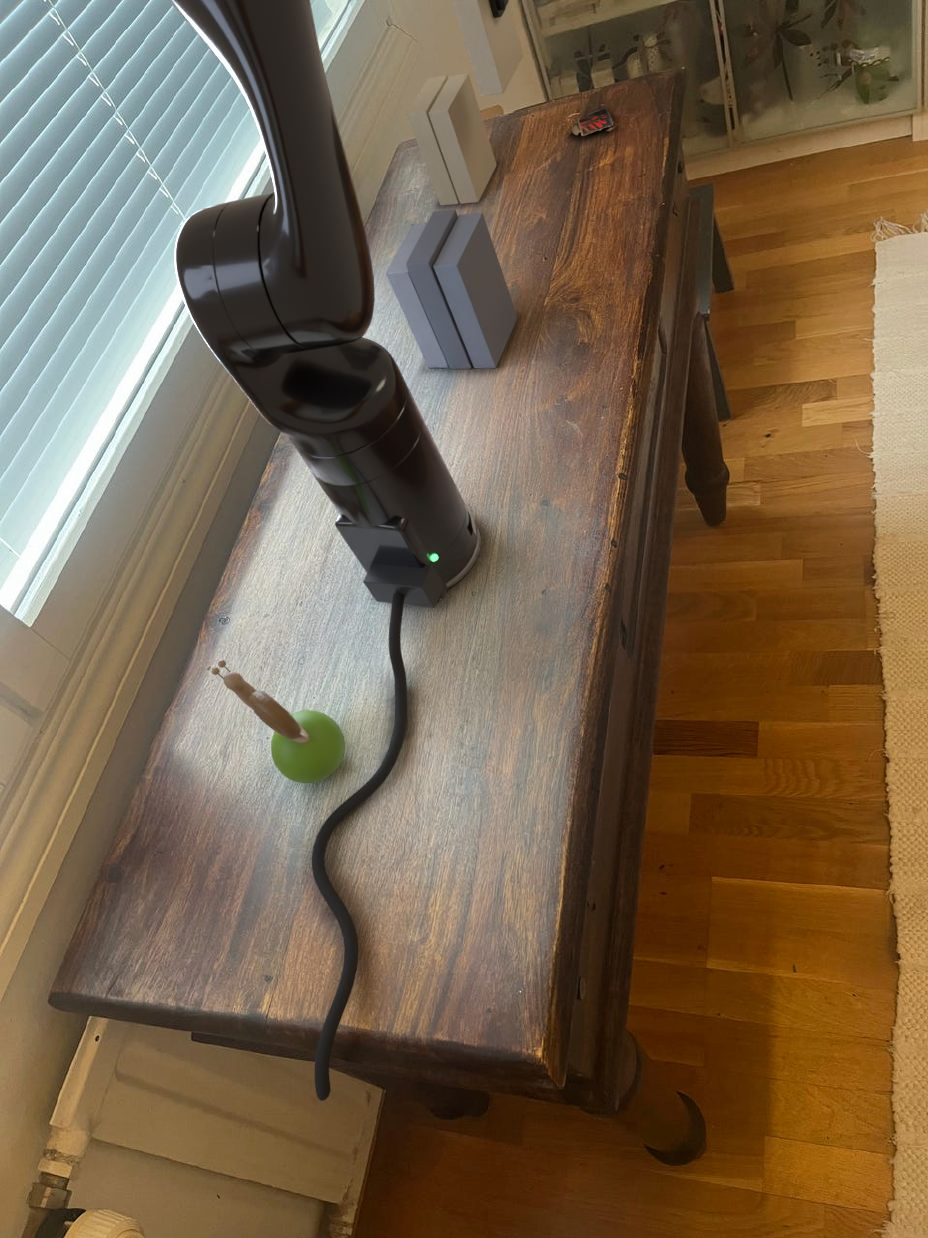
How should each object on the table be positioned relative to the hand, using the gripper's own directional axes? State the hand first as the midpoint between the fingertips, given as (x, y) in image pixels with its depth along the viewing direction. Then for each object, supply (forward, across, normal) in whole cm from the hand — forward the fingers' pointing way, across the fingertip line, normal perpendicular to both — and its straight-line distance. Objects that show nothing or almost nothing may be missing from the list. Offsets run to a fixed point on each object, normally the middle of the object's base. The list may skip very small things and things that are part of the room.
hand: (485, 15), depth 92 cm
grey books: (+18, +2, -27) cm, 32 cm away
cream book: (+6, 0, 0) cm, 6 cm away
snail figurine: (+18, +5, -73) cm, 75 cm away
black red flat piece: (+18, +5, +9) cm, 21 cm away
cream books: (+18, -8, 0) cm, 20 cm away
